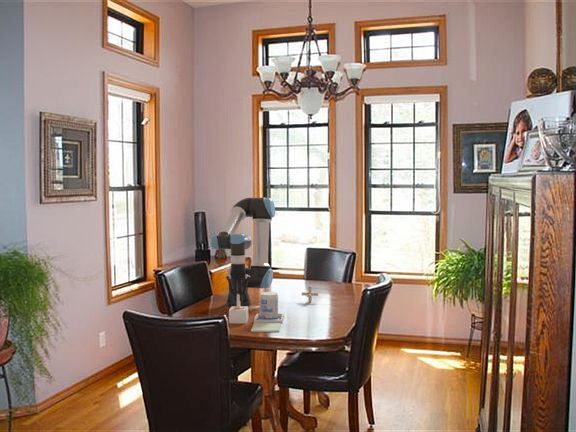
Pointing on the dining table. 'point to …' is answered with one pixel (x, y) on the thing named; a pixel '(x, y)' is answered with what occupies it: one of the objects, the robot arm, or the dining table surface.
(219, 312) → the dining table surface
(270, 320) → the frame
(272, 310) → the supplement tub
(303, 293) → the pipe connector
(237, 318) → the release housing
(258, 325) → the mat
